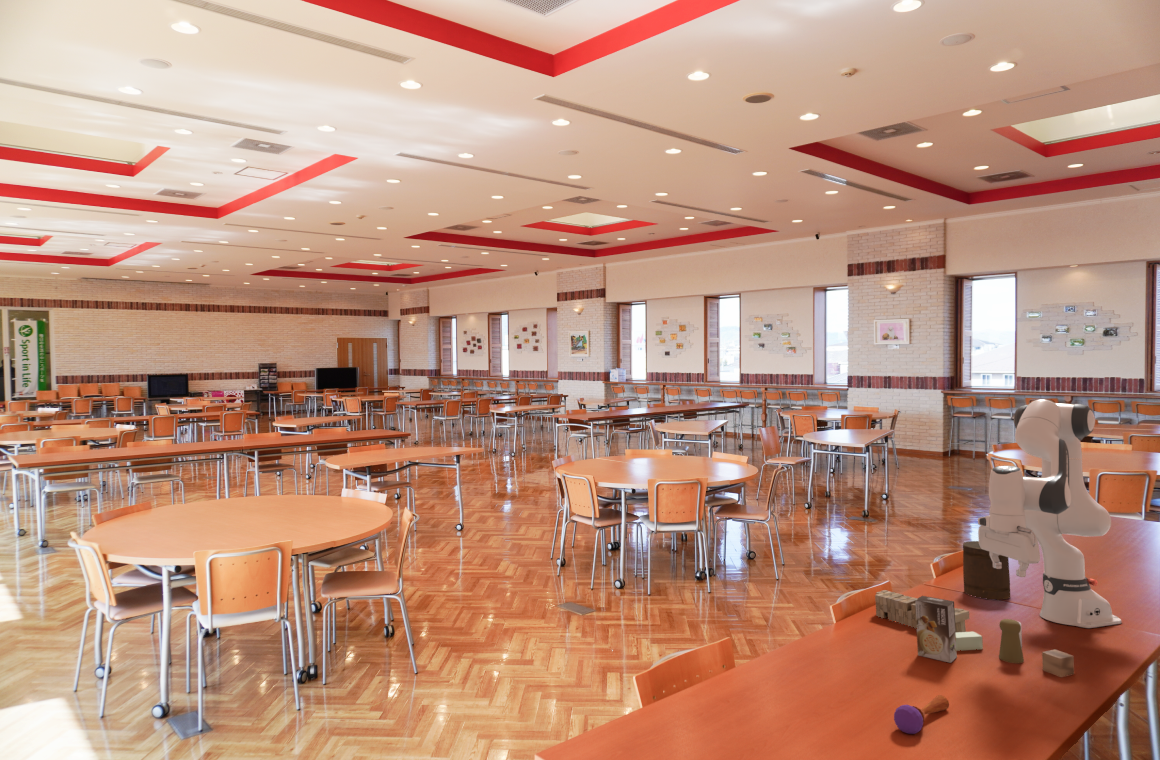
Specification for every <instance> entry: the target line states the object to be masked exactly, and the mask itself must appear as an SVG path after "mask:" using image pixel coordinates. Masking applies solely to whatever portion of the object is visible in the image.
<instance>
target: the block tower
mask: <svg viewBox="0 0 1160 760" xmlns="http://www.w3.org/2000/svg"><path fill="white" fill-rule="evenodd" d="M874 597H875V601H874V602H875V614H876V615H875V616H878V618H879V617H881V618H880V619H883V618H885V619H887V620H888V619H889V620H888V621H890V620H892V621H891V622H893V621H896V622H899V623H898V624H900V623H901V624H900V625H903V624H905V625H904V626H906V625H908V626H907V627H909V626H911V627H910V628H913V627H914V628H913V629H916V628H917V626H916V604H915V601H916V600H917V599H918V598H919V597H918V598H917V597H912V596H909V595H904V594H902V593H897V592H895V591H890V590H886V589H884V590H881V591H877V592H875V595H874ZM954 610H955V632H967V630H966V621H967V620H969V619H970V611H969V610H965V609H964V608H958V607H954ZM886 617H888V618H886ZM896 622H895V623H896Z"/></svg>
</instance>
